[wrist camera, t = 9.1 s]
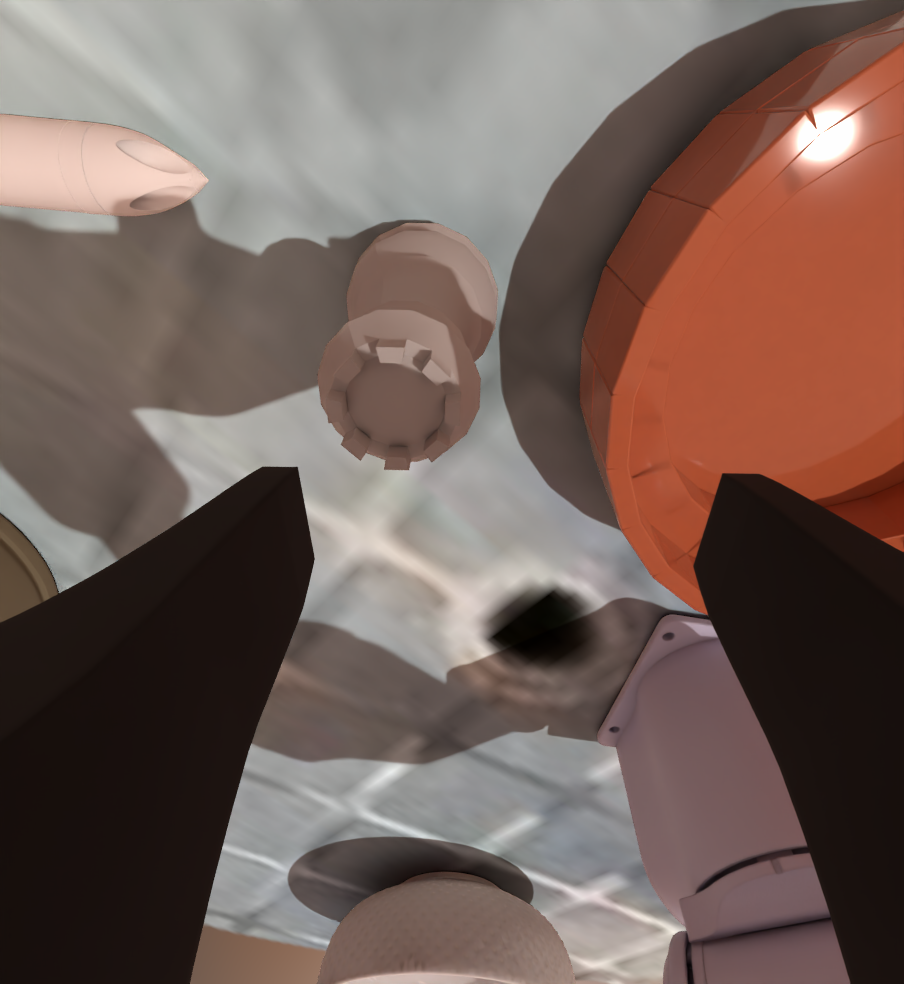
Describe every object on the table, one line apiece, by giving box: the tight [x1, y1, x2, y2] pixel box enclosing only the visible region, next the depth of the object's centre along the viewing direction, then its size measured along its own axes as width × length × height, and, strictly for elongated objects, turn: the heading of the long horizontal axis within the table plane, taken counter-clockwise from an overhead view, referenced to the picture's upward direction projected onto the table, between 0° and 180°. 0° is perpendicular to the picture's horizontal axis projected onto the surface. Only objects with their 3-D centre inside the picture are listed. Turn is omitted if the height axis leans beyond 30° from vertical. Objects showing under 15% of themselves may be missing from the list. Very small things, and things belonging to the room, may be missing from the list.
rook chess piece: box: [317, 223, 498, 470], centre depth 13 cm, size 4×4×8 cm
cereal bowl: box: [317, 872, 575, 984], centre depth 38 cm, size 17×17×7 cm
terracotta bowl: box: [579, 10, 904, 615], centre depth 15 cm, size 16×16×5 cm
